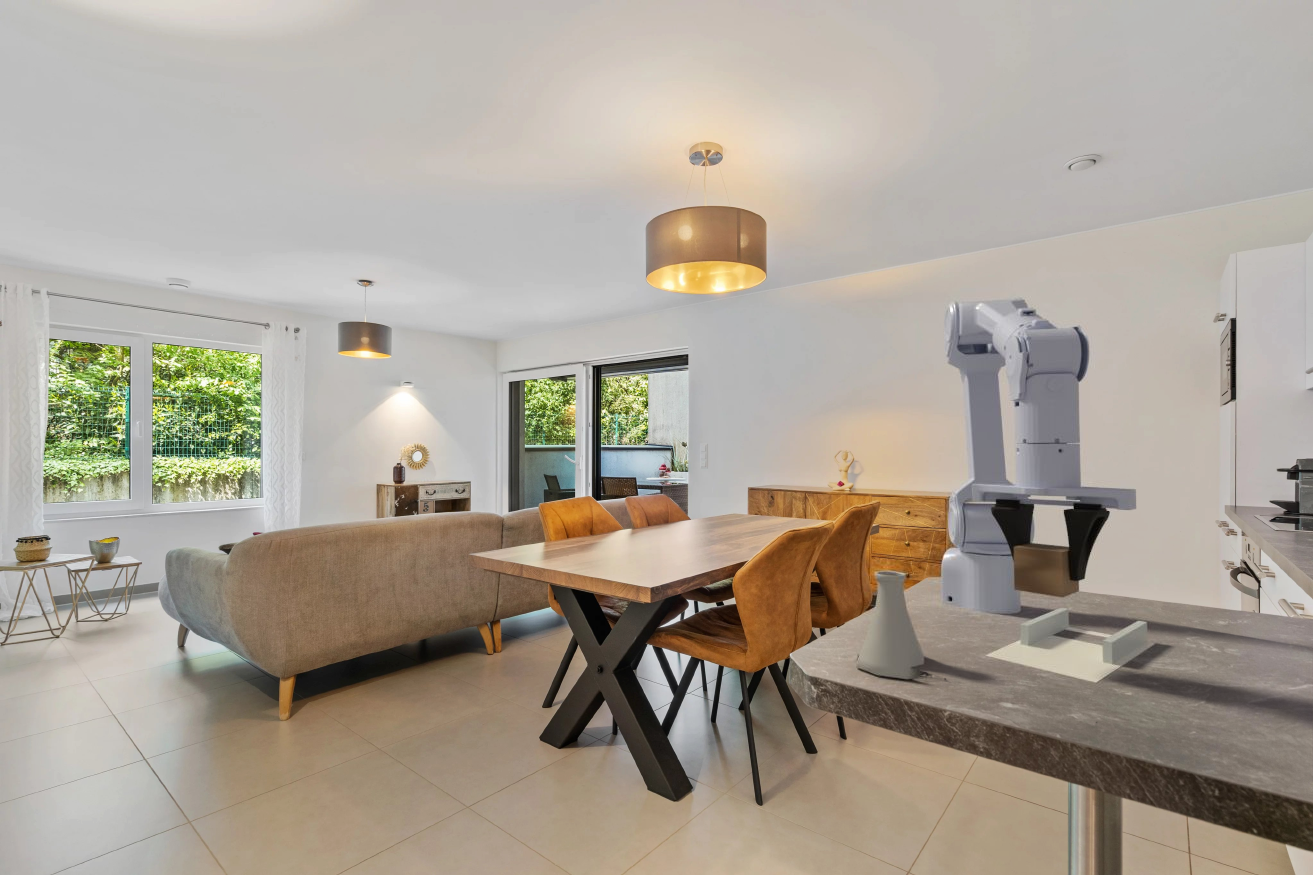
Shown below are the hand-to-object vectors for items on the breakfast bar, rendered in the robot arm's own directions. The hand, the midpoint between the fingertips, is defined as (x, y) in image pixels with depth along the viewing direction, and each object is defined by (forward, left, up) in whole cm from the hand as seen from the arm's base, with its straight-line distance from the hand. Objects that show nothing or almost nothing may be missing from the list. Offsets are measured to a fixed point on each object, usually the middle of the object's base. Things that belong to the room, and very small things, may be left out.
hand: (1049, 575), depth 64 cm
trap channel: (0, +6, -10) cm, 12 cm away
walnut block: (0, -1, -1) cm, 2 cm away
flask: (-11, -12, -10) cm, 19 cm away
